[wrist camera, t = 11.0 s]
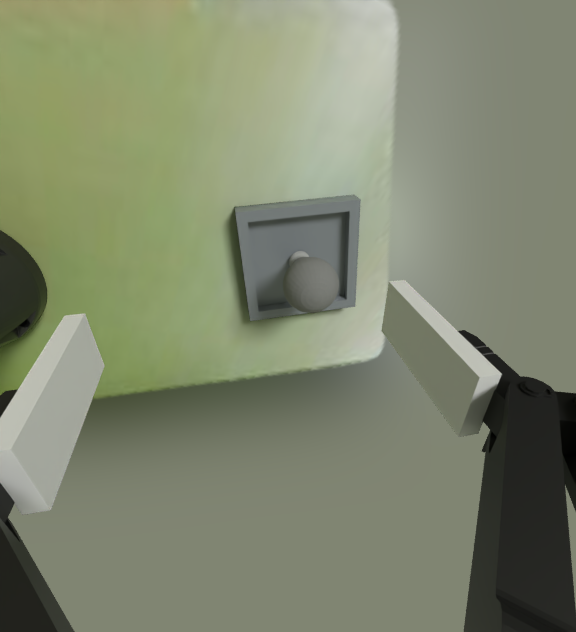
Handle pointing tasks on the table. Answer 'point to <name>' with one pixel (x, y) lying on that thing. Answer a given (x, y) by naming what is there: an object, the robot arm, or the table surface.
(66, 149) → the table surface
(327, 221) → the dish
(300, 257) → the grey light bulb
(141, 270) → the table surface
